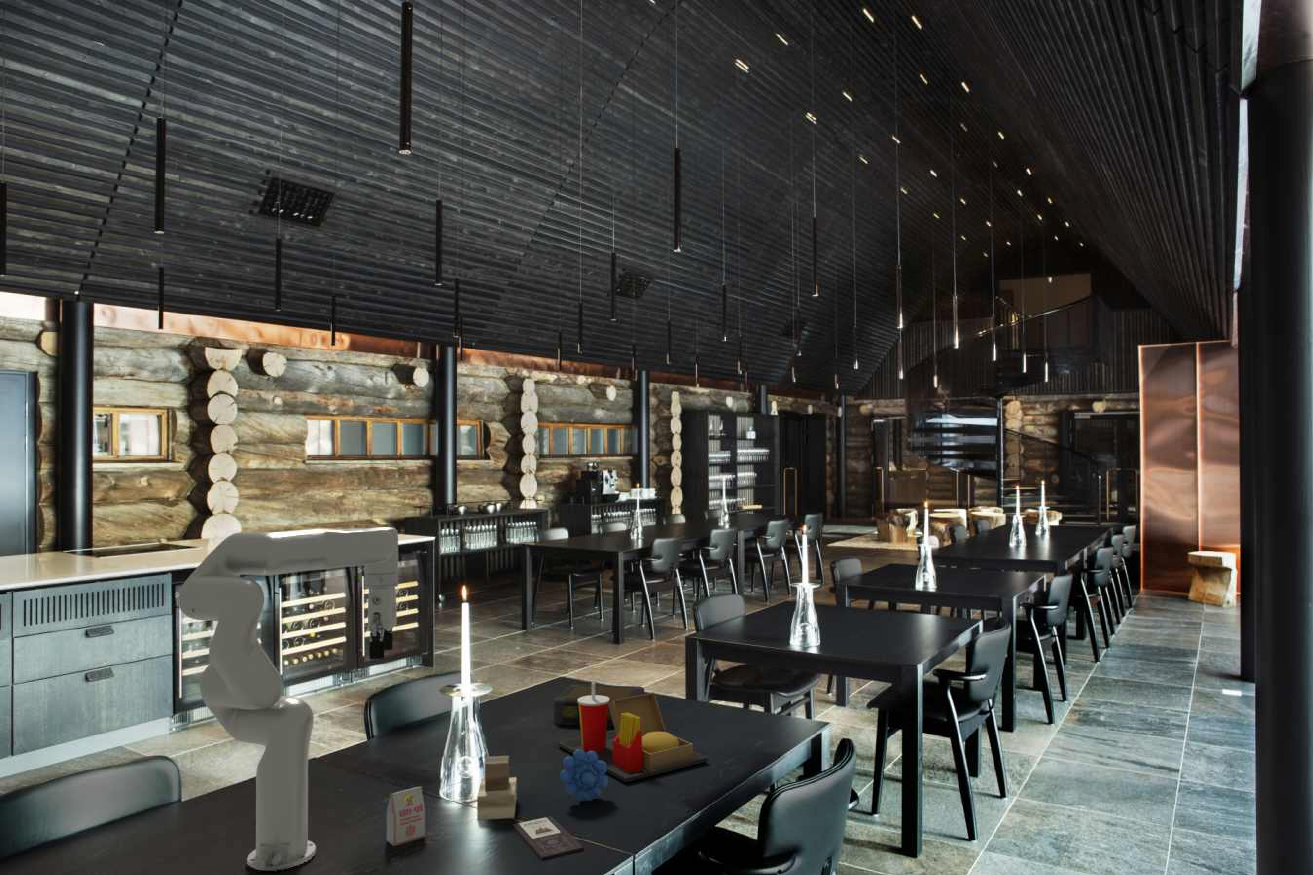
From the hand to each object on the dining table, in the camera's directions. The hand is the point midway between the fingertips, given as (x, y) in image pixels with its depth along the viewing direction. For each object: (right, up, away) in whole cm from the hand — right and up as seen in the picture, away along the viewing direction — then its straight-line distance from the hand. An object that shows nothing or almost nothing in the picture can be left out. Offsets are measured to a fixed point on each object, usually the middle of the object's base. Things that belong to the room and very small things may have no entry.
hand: (381, 654), depth 199 cm
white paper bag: (+12, -34, -20) cm, 41 cm away
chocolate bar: (+41, -34, -21) cm, 57 cm away
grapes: (+48, -34, -2) cm, 59 cm away
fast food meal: (+57, -36, +30) cm, 74 cm away
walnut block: (+28, -29, -5) cm, 40 cm away
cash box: (+47, -37, +67) cm, 90 cm away
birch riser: (+28, -34, -5) cm, 44 cm away
